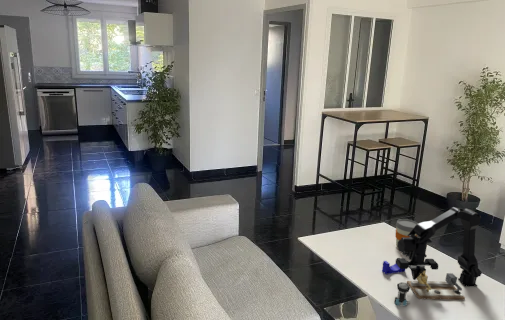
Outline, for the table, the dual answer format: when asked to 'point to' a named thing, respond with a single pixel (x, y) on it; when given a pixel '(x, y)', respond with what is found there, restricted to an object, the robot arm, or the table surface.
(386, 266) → the cable clip
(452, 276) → the fixed leg
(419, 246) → the robot arm
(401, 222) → the reusable coffee cup
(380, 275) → the table surface
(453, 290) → the board
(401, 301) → the push button
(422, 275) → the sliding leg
